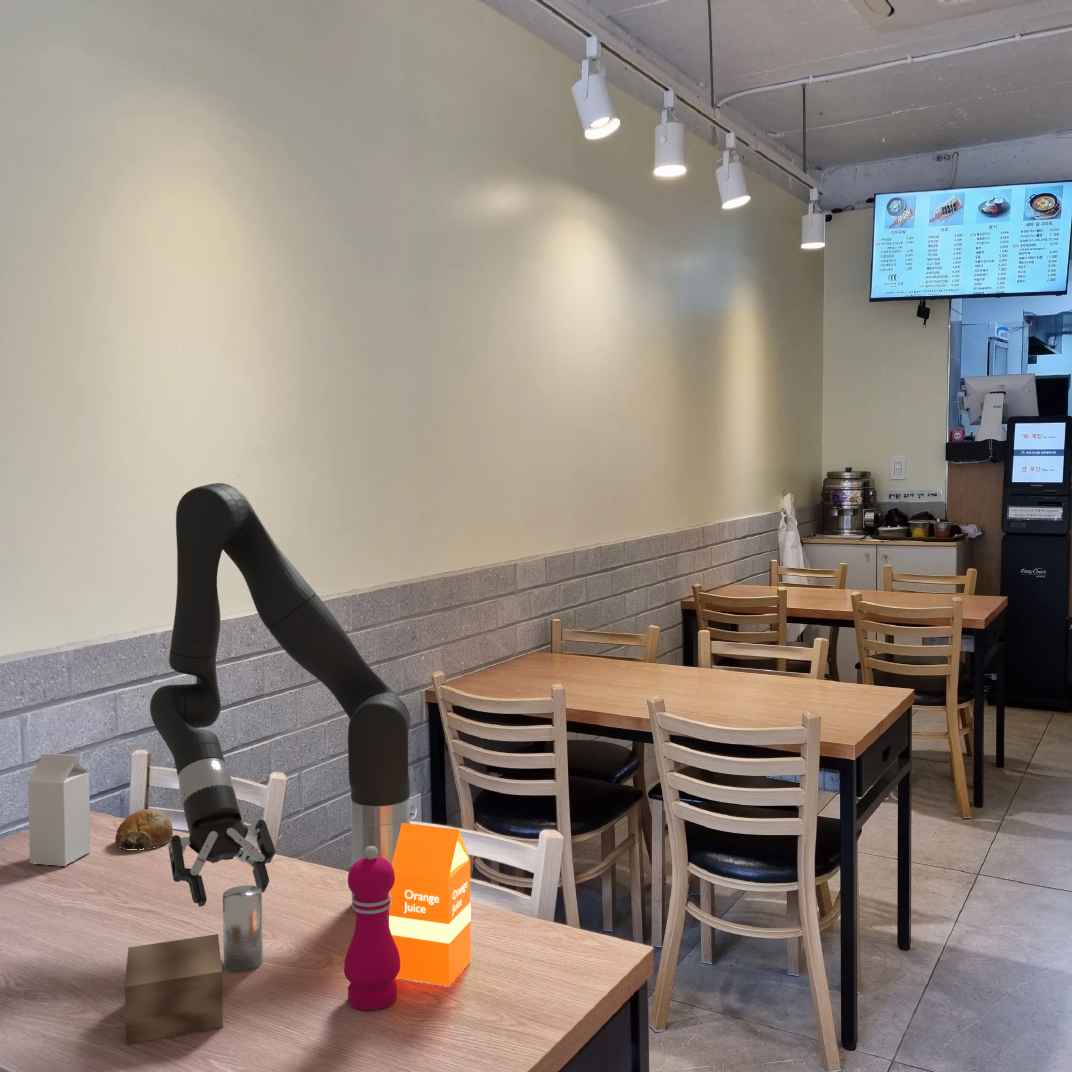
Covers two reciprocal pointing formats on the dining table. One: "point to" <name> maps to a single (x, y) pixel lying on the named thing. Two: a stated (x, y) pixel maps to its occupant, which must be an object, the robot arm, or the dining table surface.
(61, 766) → the milk carton
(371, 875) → the pepper mill
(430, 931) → the orange juice
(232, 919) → the shiny metal cylinder
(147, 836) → the bread roll
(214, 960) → the walnut block
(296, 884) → the dining table surface
